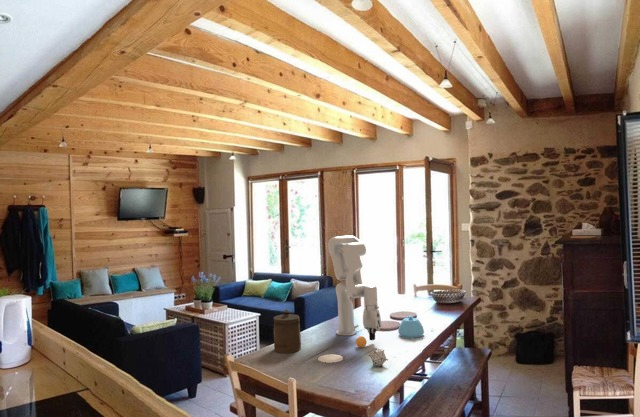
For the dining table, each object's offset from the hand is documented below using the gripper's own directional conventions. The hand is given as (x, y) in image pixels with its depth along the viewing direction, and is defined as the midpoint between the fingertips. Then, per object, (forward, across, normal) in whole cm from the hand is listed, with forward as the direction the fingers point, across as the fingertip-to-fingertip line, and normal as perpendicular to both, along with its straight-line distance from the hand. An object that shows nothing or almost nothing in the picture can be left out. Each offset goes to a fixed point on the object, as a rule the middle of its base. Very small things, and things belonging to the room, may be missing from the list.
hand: (372, 339), depth 275 cm
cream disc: (+2, 0, +34) cm, 34 cm away
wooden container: (+2, +30, +37) cm, 48 cm away
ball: (-1, 0, +9) cm, 9 cm away
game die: (+3, -26, +27) cm, 37 cm away
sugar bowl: (+3, -8, -28) cm, 29 cm away
